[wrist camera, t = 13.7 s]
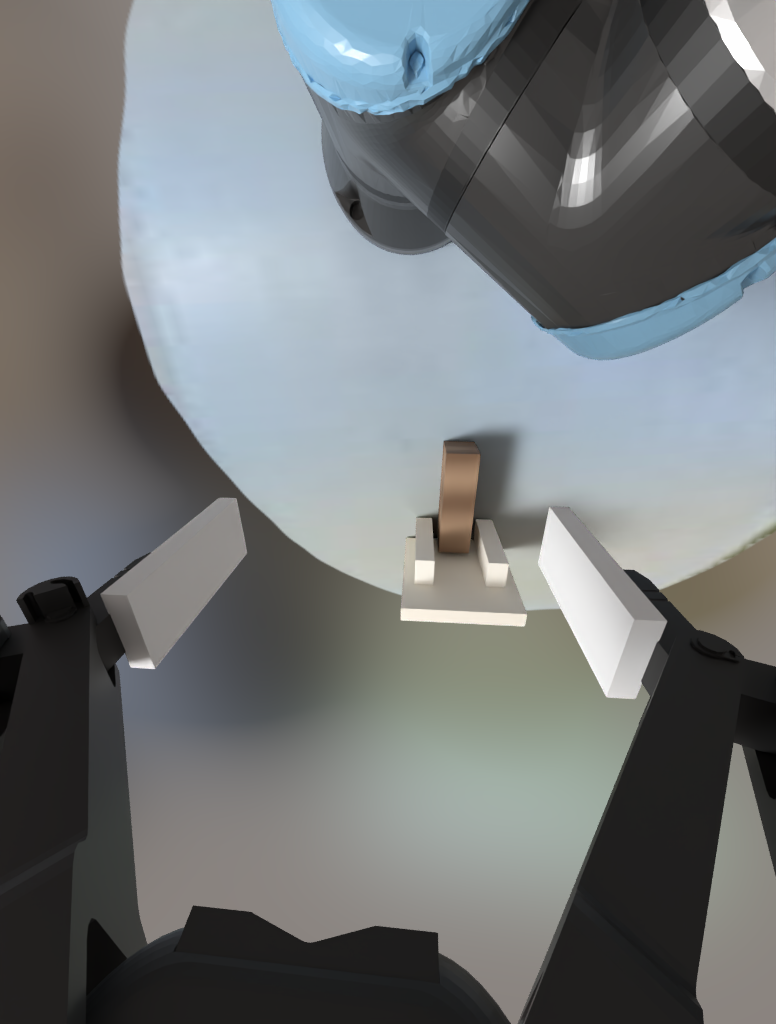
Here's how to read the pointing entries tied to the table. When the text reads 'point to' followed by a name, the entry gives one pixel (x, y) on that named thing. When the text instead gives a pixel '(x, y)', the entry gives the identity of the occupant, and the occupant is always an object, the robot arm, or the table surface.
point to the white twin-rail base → (459, 580)
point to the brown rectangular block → (457, 495)
